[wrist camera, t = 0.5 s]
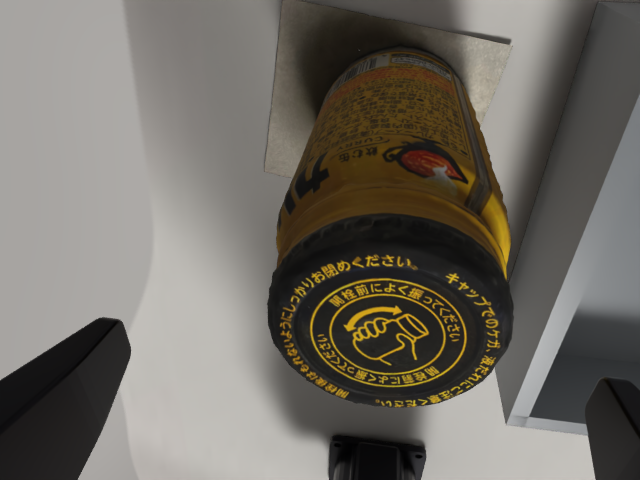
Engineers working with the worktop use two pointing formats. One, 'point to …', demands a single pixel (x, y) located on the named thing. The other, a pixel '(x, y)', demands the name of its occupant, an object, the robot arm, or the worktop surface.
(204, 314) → the worktop surface
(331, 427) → the worktop surface
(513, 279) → the bin
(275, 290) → the condiment
